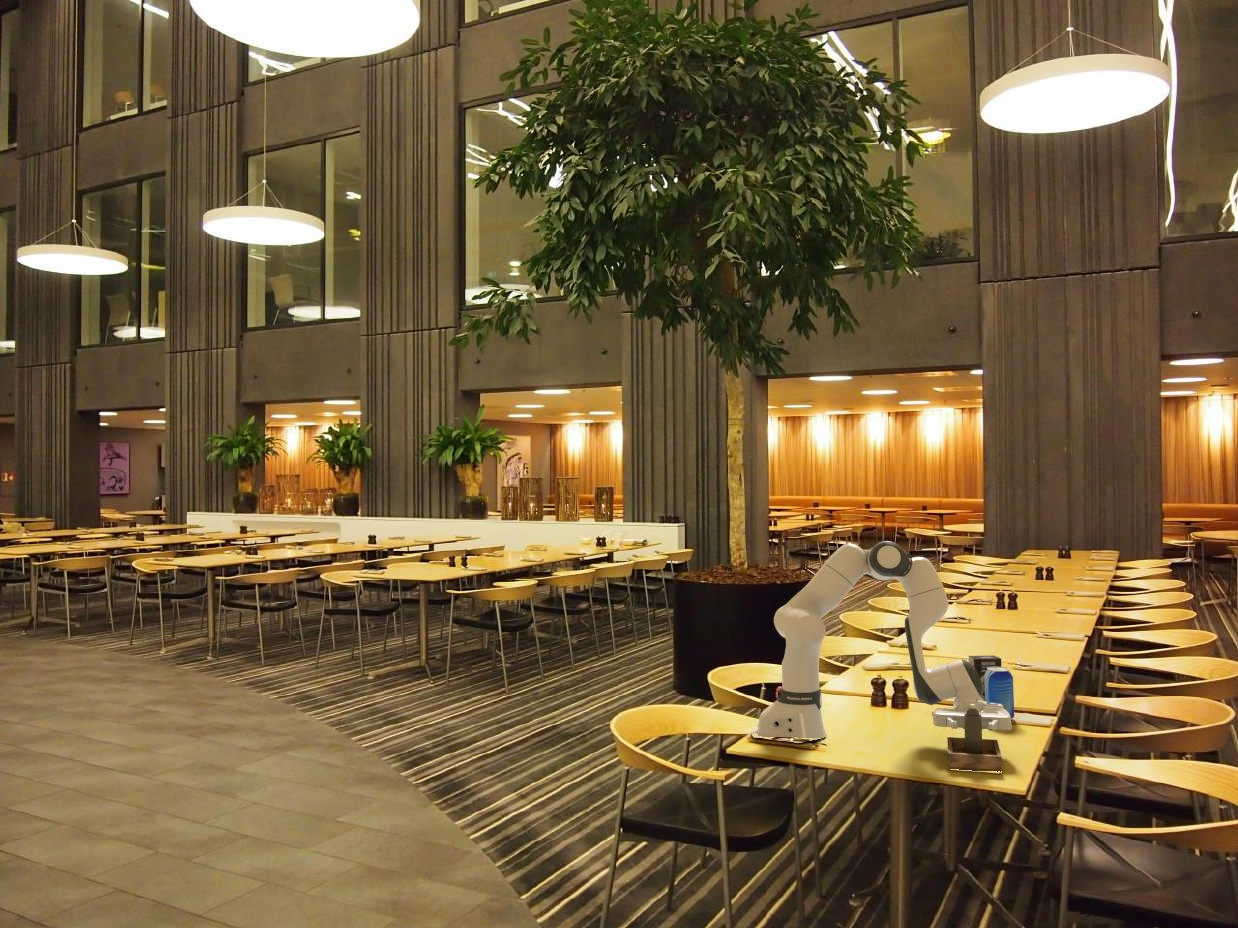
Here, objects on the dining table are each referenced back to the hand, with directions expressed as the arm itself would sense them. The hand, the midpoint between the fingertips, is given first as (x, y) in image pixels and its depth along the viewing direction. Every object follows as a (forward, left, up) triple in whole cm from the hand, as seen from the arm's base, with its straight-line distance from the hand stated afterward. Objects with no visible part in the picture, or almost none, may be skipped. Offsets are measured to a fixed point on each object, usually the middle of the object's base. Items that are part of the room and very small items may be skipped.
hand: (972, 726), depth 249 cm
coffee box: (+7, +69, -10) cm, 70 cm away
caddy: (0, +1, -10) cm, 10 cm away
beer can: (+10, +50, -10) cm, 52 cm away
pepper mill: (0, +1, -9) cm, 9 cm away
